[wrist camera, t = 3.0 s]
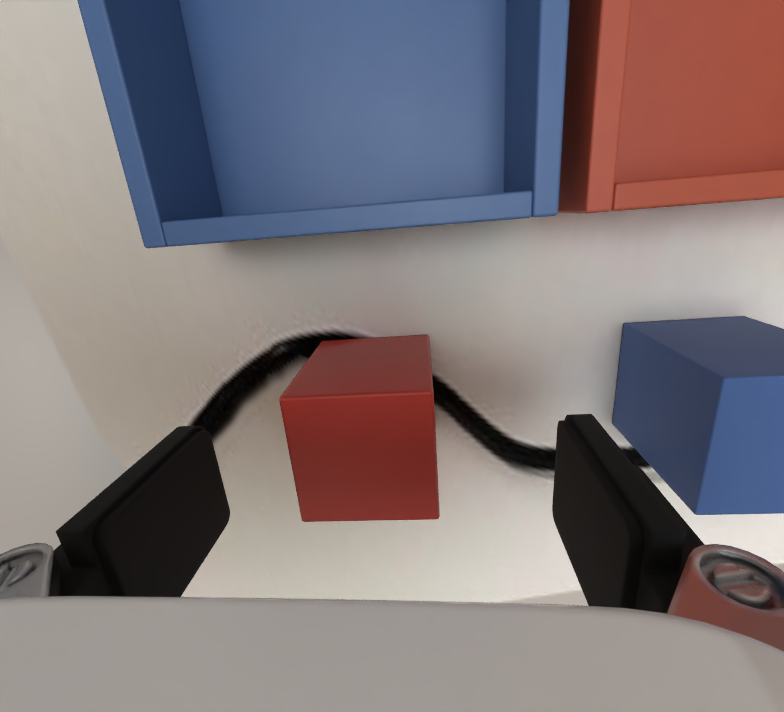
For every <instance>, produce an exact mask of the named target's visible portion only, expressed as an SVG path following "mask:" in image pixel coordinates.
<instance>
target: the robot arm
mask: <svg viewBox="0 0 784 712" xmlns="http://www.w3.org/2000/svg"><path fill="white" fill-rule="evenodd" d="M229 517H230V510H229V505H228V501H227V498H226V494H225V490H224V486H223V482H222V478H221V474H220V470H219V466H218V462H217V458H216V454H215V450H214V447H213V443H212V439H211V435H210V433H209V432H208V431H205V430H204V428H203V427H201V426H179V427H177V428H176V429H175V430H174V431H172V432H171V433H170V434H169V435H168V436H167V437H165V438H164V439H163V440H162V441H161V442H160V443H158V444H157V445H156V446H155V447H154V448H153V449H151V450H150V451H149V452H148V453H147V454H146V455H144V456H143V457H142V458H141V459H140V460H139V461H137V462H136V463H135V464H134V465H133V466H132V467H130V468H129V469H128V470H127V471H126V472H125V473H123V474H122V475H121V476H120V477H119V478H118V479H117V480H115V481H114V482H113V483H112V484H111V485H109V487H107V488H106V489H105V490H104V491H102V492H101V493H100V494H99V495H98V496H97V497H95V499H93V500H92V501H91V502H90V503H88V504H87V505H86V506H85V507H84V508H83V509H81V510H80V511H79V512H78V513H77V514H76V515H74V516H73V517H72V518H71V519H70V520H69V521H67V522H66V523H65V524H64V525H63V526H62V527H60V528H59V529H58V530H57V531H56V533H57V536H58V537H59V540H60V542H61V545H60V546H59V547H57V548H56V549H55V550H53V548H52V547H51V546H50V545H48V544H45V543H34V544H28V545H24V546H21V547H18V548H14V549H12V550H9V551H7V552H5V553H3V554H0V712H784V572H783V571H782V570H781V569H779V568H777V567H776V566H774V565H773V564H771V563H770V562H768V561H767V560H765V559H763V558H761V557H759V556H757V555H754V554H752V553H750V552H748V551H745V550H742V549H738V548H735V547H732V546H726V545H719V544H710V545H704V544H703V542H702V541H701V540H700V539H699V538H698V536H697V535H696V534H695V533H694V532H693V530H692V529H691V528H690V527H689V526H688V524H687V523H686V522H685V521H684V520H683V518H682V517H681V516H680V515H679V514H678V512H677V511H676V510H675V509H674V508H673V506H672V505H671V504H670V503H669V502H668V500H667V499H666V498H665V497H664V496H663V494H662V493H661V492H660V491H659V490H658V488H657V487H656V486H655V485H654V484H653V482H652V481H651V480H650V479H649V478H648V476H647V475H646V474H645V473H644V472H643V470H641V469H640V468H639V467H638V466H634V465H633V464H632V463H631V461H630V460H629V459H628V458H627V456H626V455H625V454H624V453H623V452H622V450H621V449H620V448H619V447H618V445H617V444H616V443H615V442H614V441H613V439H612V438H611V437H610V436H609V434H608V433H607V432H606V431H605V429H604V428H603V427H602V426H601V425H600V423H599V422H598V421H597V420H596V418H595V417H594V416H593V415H592V414H577V415H567V416H566V418H565V421H559V422H558V427H557V443H556V459H555V475H554V491H553V518H554V522H555V524H556V527H557V529H558V532H559V534H560V537H561V539H562V542H563V544H564V546H565V549H566V551H567V554H568V556H569V559H570V561H571V563H572V566H573V568H574V571H575V573H576V576H577V578H578V581H579V583H580V585H581V588H582V590H583V593H584V595H585V597H586V600H587V602H588V605H589V606H579V605H562V604H526V603H525V604H524V603H483V602H439V601H395V600H344V599H284V598H212V597H181V595H182V594H183V592H184V591H185V589H186V587H187V586H188V584H189V583H190V581H191V580H192V578H193V577H194V575H195V573H196V572H197V570H198V569H199V567H200V566H201V564H202V563H203V561H204V559H205V558H206V556H207V555H208V553H209V552H210V550H211V549H212V547H213V546H214V544H215V542H216V541H217V539H218V538H219V536H220V535H221V533H222V532H223V530H224V528H225V527H226V525H227V523H228V521H229Z"/></svg>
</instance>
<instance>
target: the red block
mask: <svg viewBox="0 0 784 712" xmlns="http://www.w3.org/2000/svg"><path fill="white" fill-rule="evenodd" d="M279 401H280V406H281V411H282V417H283V422H284V427H285V432H286V438H287V443H288V448H289V454H290V459H291V464H292V470H293V475H294V480H295V486H296V491H297V496H298V502H299V507H300V512H301V518H302V521H304V522H315V521H368V520H422V519H438V518H439V516H440V515H439V494H438V473H437V453H436V432H435V412H434V392H433V380H432V367H431V355H430V343H429V336H428V335H414V336H397V337H380V338H362V339H345V340H327V341H322V342H321V343H320V344H319V346H318V347H317V348H316V350H315V351H314V353H313V354H312V355H311V357H310V358H309V359H308V361H307V362H306V363H305V365H304V366H303V367H302V369H301V370H300V371H299V373H298V374H297V375H296V377H295V378H294V379H293V381H292V382H291V383H290V385H289V386H288V387H287V389H286V390H285V391H284V393H283V394H282V396H281V397H280V399H279Z"/></svg>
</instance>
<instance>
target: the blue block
mask: <svg viewBox="0 0 784 712" xmlns="http://www.w3.org/2000/svg"><path fill="white" fill-rule="evenodd" d="M612 424H613V425H614V426H615V427H616V428H617V429H618V430H619V432H620V433H621V434H622V435H623V436H624V437H625V438H626V439H627V440H628V441H629V443H630V444H631V445H632V446H633V447H634V448H635V449H636V450H637V451H638V452H639V454H640V455H641V456H642V457H643V458H644V459H645V460H646V461H647V462H648V463H649V464H650V466H651V467H652V468H653V469H654V470H655V471H656V472H657V473H658V474H659V475H660V477H661V478H662V479H663V480H664V481H665V482H666V483H667V484H668V485H669V486H670V488H671V489H672V490H673V491H674V492H675V493H676V494H677V495H678V496H679V497H680V499H681V500H682V501H683V502H684V503H685V504H686V505H687V506H688V507H689V508H690V510H691V511H692V512H693V513H694V514H696V515H717V514H771V513H784V329H782V328H779V327H776V326H773V325H770V324H766V323H763V322H760V321H757V320H754V319H751V318H748V317H745V316H742V317H725V318H707V319H690V320H672V321H655V322H637V323H624V325H623V334H622V343H621V351H620V360H619V369H618V378H617V386H616V395H615V404H614V412H613V421H612Z"/></svg>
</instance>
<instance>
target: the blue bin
mask: <svg viewBox="0 0 784 712" xmlns="http://www.w3.org/2000/svg"><path fill="white" fill-rule="evenodd" d="M78 4H79V8H80V11H81V15H82V19H83V22H84V26H85V30H86V34H87V37H88V41H89V45H90V48H91V52H92V56H93V59H94V63H95V67H96V70H97V74H98V78H99V81H100V85H101V89H102V92H103V96H104V100H105V103H106V107H107V111H108V114H109V118H110V122H111V125H112V129H113V133H114V136H115V140H116V144H117V147H118V151H119V155H120V158H121V162H122V166H123V169H124V173H125V177H126V180H127V184H128V188H129V191H130V195H131V199H132V202H133V206H134V210H135V213H136V217H137V221H138V224H139V228H140V232H141V235H142V239H143V243H144V246H145V247H146V248H157V247H168V246H182V245H195V244H207V243H220V242H232V241H245V240H257V239H270V238H282V237H295V236H307V235H320V234H332V233H345V232H357V231H370V230H382V229H395V228H408V227H420V226H433V225H445V224H458V223H470V222H483V221H495V220H508V219H520V218H530V217H545V216H555V215H557V214H558V207H559V188H560V170H561V152H562V133H563V115H564V97H565V79H566V60H567V42H568V24H569V5H570V0H78Z"/></svg>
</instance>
